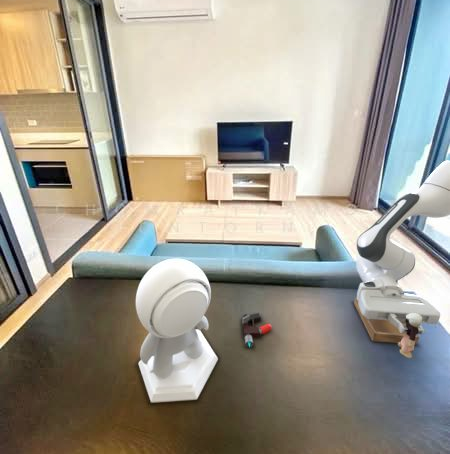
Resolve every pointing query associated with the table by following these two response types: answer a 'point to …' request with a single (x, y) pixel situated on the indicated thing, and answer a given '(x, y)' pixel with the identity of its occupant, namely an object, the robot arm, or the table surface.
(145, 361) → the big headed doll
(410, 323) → the grandmother figurine
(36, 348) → the table surface
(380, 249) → the robot arm
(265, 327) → the toy gun
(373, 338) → the shallow wooden tray
